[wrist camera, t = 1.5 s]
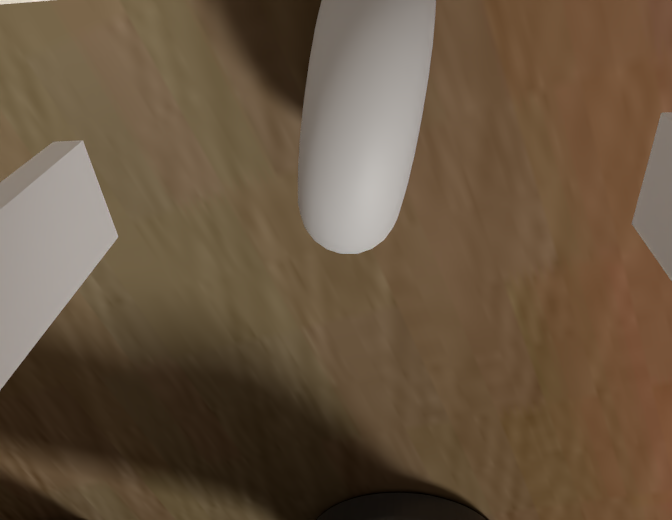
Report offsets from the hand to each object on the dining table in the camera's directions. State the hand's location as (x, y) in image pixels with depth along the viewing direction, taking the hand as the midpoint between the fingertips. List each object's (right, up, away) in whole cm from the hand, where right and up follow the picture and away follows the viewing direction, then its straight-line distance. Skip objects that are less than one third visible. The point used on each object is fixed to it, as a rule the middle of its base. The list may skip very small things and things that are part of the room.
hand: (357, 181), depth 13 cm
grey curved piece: (+1, +6, +10) cm, 12 cm away
